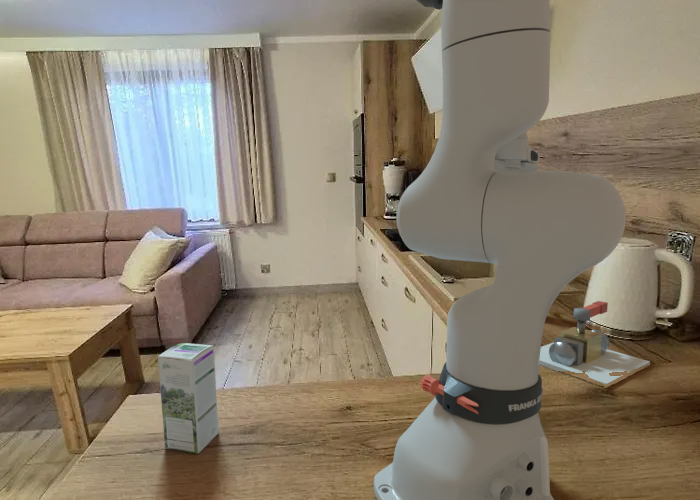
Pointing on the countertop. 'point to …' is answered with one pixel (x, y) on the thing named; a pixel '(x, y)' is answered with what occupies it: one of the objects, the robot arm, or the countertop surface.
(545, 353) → the mounting board
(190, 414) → the syrup box
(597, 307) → the lever
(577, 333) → the valve
